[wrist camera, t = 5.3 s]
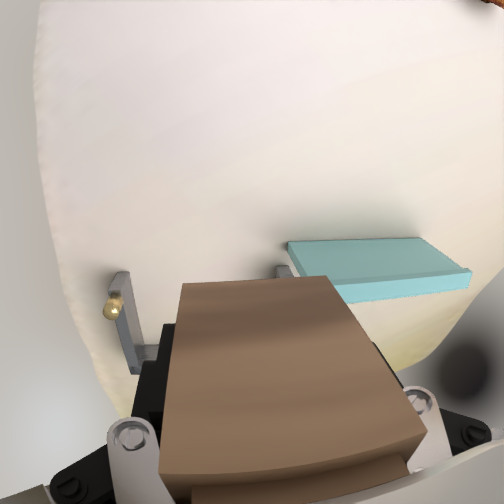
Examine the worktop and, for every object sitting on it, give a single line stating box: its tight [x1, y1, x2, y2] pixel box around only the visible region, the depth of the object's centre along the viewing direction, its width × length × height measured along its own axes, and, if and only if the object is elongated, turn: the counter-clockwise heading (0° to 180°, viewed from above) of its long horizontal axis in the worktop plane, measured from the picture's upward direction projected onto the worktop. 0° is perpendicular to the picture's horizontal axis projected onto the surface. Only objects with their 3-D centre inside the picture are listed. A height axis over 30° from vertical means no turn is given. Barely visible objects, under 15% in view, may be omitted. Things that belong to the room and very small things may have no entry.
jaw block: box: [158, 275, 428, 504], centre depth 8 cm, size 5×5×8 cm
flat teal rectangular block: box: [288, 238, 472, 304], centre depth 26 cm, size 2×15×9 cm, turn 90°
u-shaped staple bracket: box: [103, 266, 294, 375], centre depth 29 cm, size 10×17×6 cm, turn 90°
